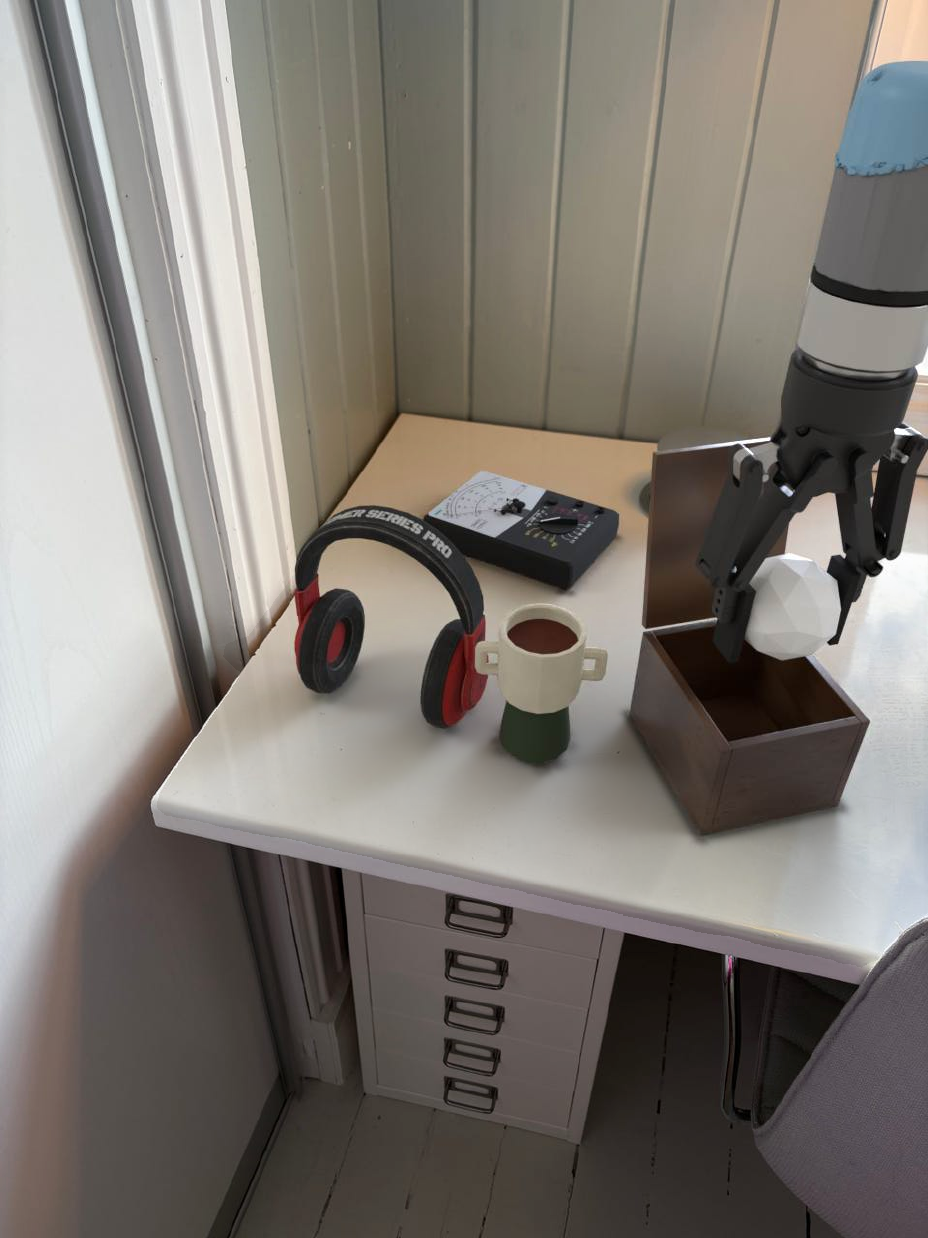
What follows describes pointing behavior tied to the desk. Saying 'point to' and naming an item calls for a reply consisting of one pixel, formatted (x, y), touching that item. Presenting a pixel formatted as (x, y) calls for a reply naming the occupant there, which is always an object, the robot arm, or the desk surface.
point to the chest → (743, 728)
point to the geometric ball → (792, 607)
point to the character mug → (539, 677)
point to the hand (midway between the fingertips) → (775, 642)
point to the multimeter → (525, 528)
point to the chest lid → (685, 531)
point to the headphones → (340, 621)
